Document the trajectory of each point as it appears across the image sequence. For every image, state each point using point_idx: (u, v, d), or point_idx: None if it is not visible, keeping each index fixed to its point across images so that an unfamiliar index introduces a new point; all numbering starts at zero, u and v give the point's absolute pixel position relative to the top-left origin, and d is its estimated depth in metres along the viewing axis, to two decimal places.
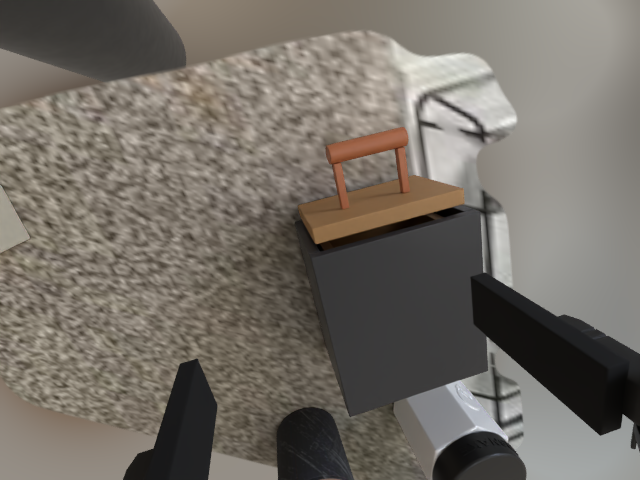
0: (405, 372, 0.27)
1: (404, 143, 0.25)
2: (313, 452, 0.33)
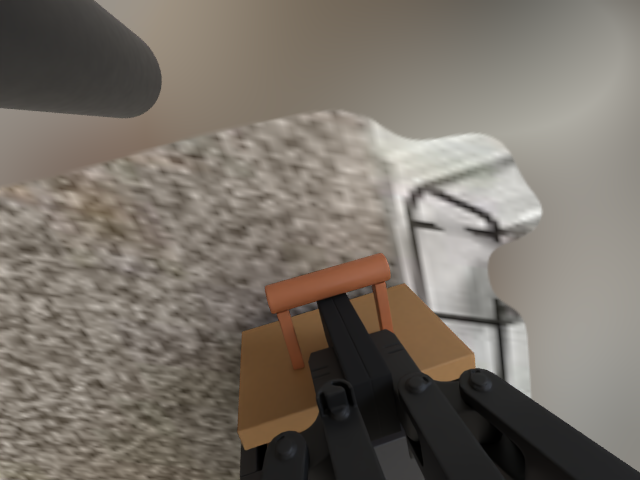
0: None
1: (384, 279, 0.16)
2: None
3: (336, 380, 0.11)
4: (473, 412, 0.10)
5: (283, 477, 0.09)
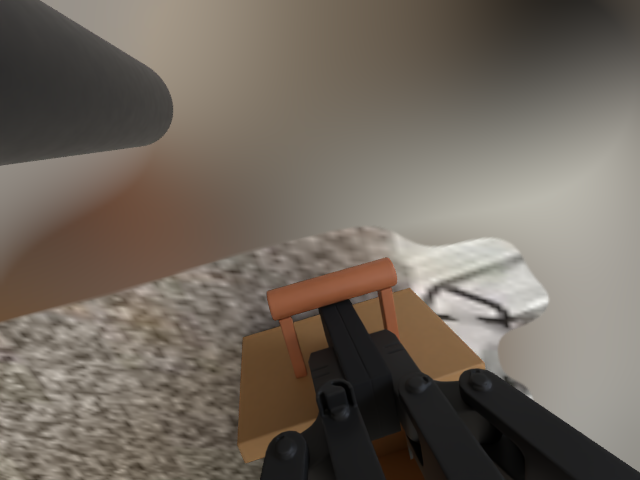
0: None
1: (391, 285, 0.16)
2: None
3: (336, 380, 0.11)
4: (473, 412, 0.10)
5: (283, 477, 0.09)
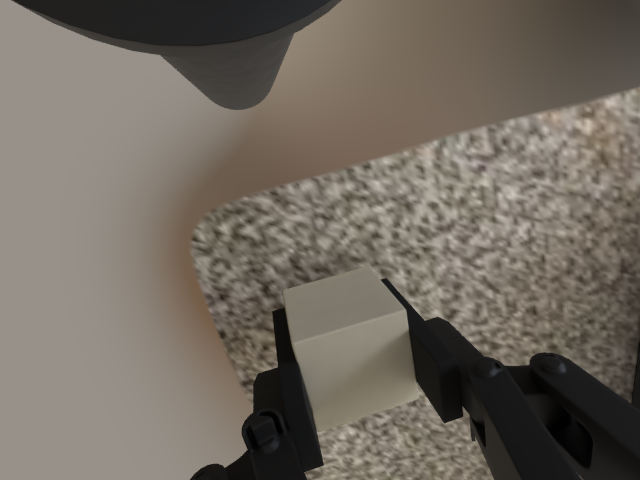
0: None
1: None
2: None
3: (263, 410, 0.10)
4: (548, 394, 0.10)
5: None
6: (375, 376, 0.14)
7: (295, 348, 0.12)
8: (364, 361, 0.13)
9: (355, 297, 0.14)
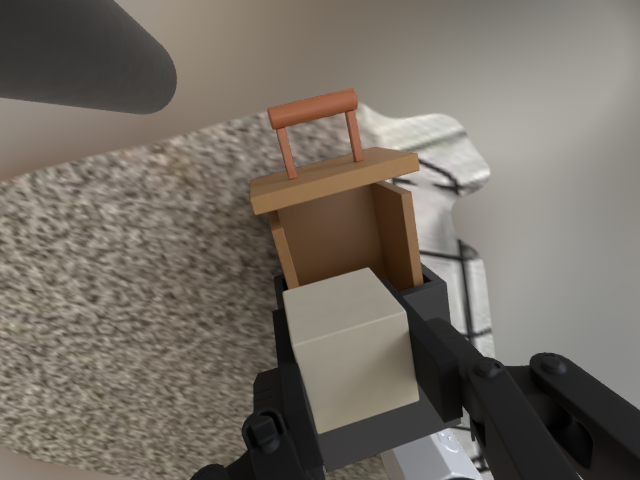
0: (379, 430, 0.28)
1: (353, 105, 0.23)
2: None
3: (263, 410, 0.10)
4: (548, 395, 0.10)
5: None
6: (376, 378, 0.14)
7: (295, 350, 0.12)
8: (364, 362, 0.13)
9: (356, 299, 0.14)
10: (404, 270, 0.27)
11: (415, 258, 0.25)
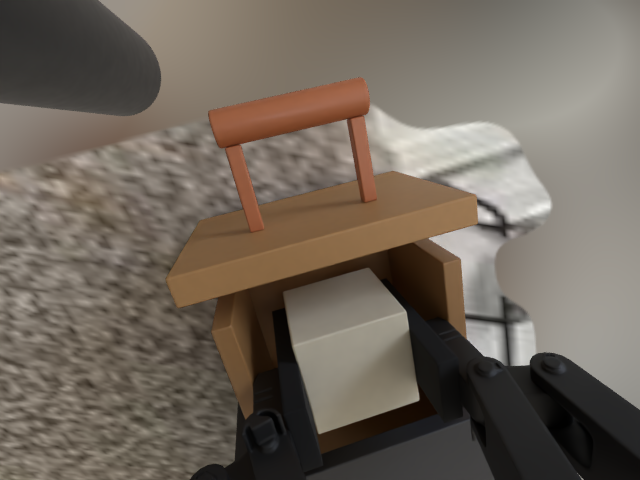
0: None
1: (362, 108, 0.13)
2: None
3: (262, 410, 0.10)
4: (548, 395, 0.10)
5: None
6: (376, 378, 0.14)
7: (295, 350, 0.12)
8: (364, 362, 0.13)
9: (356, 299, 0.14)
10: None
11: None
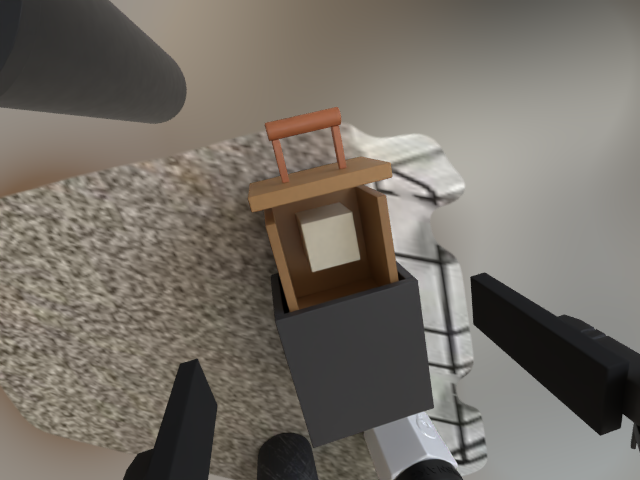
0: (360, 410, 0.32)
1: (337, 121, 0.27)
2: (286, 475, 0.38)
3: None
4: None
5: None
6: (339, 244, 0.30)
7: (302, 227, 0.29)
8: (333, 236, 0.29)
9: (331, 211, 0.31)
10: (382, 264, 0.31)
11: (390, 253, 0.29)
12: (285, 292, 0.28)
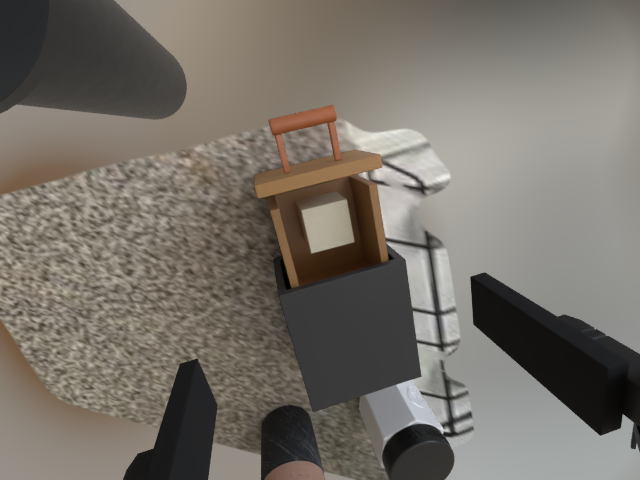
0: (355, 378, 0.36)
1: (333, 118, 0.30)
2: (288, 440, 0.41)
3: None
4: None
5: None
6: (335, 228, 0.33)
7: (302, 212, 0.32)
8: (330, 221, 0.33)
9: (327, 199, 0.34)
10: (374, 246, 0.34)
11: (381, 235, 0.32)
12: (287, 270, 0.31)
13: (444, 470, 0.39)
